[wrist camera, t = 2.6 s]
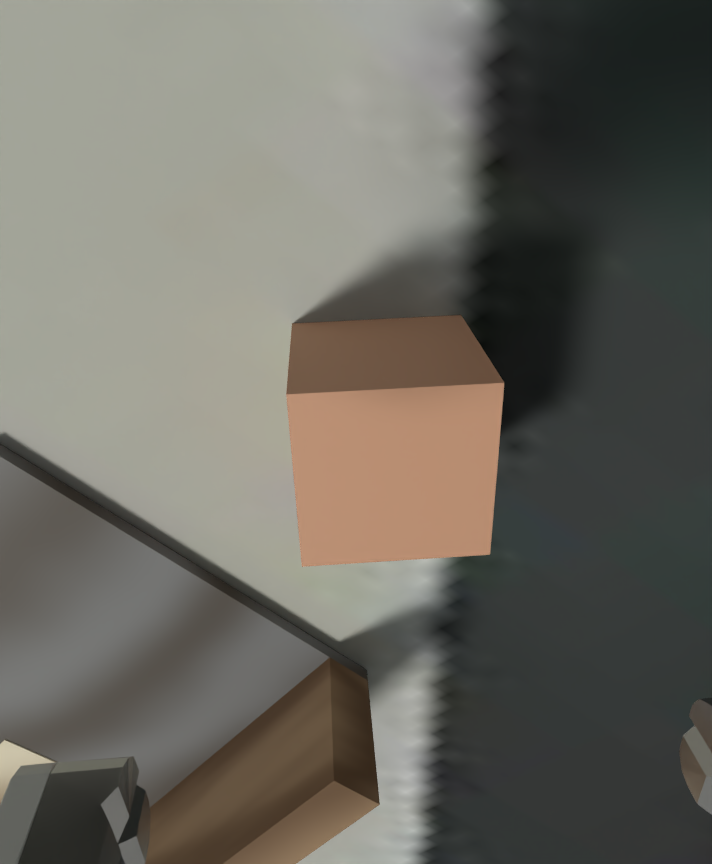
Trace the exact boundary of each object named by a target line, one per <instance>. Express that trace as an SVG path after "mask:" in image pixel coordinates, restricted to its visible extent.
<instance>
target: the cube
mask: <svg viewBox="0 0 712 864" xmlns="http://www.w3.org/2000/svg"><path fill="white" fill-rule="evenodd" d="M503 394H504V381H503V380H502V378H501V377H500V375H499V374H498V372H497V370H496V369H495V367H494V366H493V364H492V363H491V361H490V359H489V358H488V356H487V355H486V353H485V352H484V350H483V349H482V347H481V345H480V344H479V342H478V341H477V339H476V338H475V336H474V334H473V333H472V331H471V330H470V328H469V327H468V325H467V324H466V322H465V320H464V319H463V317H462V316H461V315H451V316H432V317H412V318H392V319H372V320H352V321H332V322H312V323H293V324H292V332H291V344H290V356H289V369H288V381H287V393H286V395H287V406H288V418H289V429H290V440H291V451H292V462H293V473H294V484H295V495H296V506H297V517H298V528H299V539H300V550H301V561H302V567H303V566H318V565H334V564H350V563H365V562H381V561H397V560H412V559H428V558H444V557H459V556H475V555H490V548H491V536H492V524H493V512H494V500H495V488H496V477H497V465H498V453H499V441H500V429H501V417H502V406H503Z"/></svg>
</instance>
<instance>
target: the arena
mask: <svg viewBox="0 0 712 864" xmlns="http://www.w3.org/2000/svg"><path fill="white" fill-rule="evenodd" d="M130 756H134V758H135V761H136V763H137V766H138V768H139V775H138V779H137V784H136V785H138V786H140V787H141V788H143V789H144V790H146V793H147V796H148V800H149V806H150V815H151V821H150V840H149V846H148V851H147V857H146V862H145V864H296V863H298V862H299V861H300V860H302V859H303V858H305V857H306V856H307V855H309V854H310V853H312V852H313V851H315V850H316V849H317V848H319V847H320V846H322V845H323V844H324V843H326V842H327V841H329V840H330V839H331V838H333V837H334V836H336V835H337V834H339V833H340V832H341V831H343V830H344V829H346V828H347V827H348V826H350V825H351V824H353V823H354V822H356V821H357V820H358V819H360V818H361V817H363V816H364V815H365V814H367V813H368V812H370V811H371V810H373V809H374V808H375V807H377V806H378V805H380V803H379V793H378V783H377V772H376V762H375V752H374V741H373V731H372V721H371V710H370V700H369V690H368V679H367V670H365V669H364V668H362V667H361V666H359V665H357V664H356V663H354V662H352V661H351V660H349V659H348V658H346V657H344V656H343V655H341V654H339V653H338V652H336V651H335V650H333V649H331V648H330V647H328V646H326V645H325V644H323V643H322V642H320V641H318V640H317V639H315V638H313V637H312V636H310V635H309V634H307V633H305V632H304V631H302V630H300V629H299V628H297V627H296V626H294V625H292V624H291V623H289V622H288V621H286V620H284V619H283V618H281V617H279V616H278V615H276V614H275V613H273V612H271V611H270V610H268V609H266V608H265V607H263V606H262V605H260V604H258V603H257V602H255V601H253V600H252V599H250V598H249V597H247V596H245V595H244V594H242V593H240V592H239V591H237V590H236V589H234V588H232V587H231V586H229V585H228V584H226V583H224V582H223V581H221V580H219V579H218V578H216V577H215V576H213V575H211V574H210V573H208V572H206V571H205V570H203V569H202V568H200V567H198V566H197V565H195V564H193V563H192V562H190V561H189V560H187V559H185V558H184V557H182V556H180V555H179V554H177V553H176V552H174V551H172V550H171V549H169V548H167V547H166V546H164V545H163V544H161V543H159V542H158V541H156V540H155V539H153V538H151V537H150V536H148V535H146V534H145V533H143V532H142V531H140V530H138V529H137V528H135V527H133V526H132V525H130V524H129V523H127V522H125V521H124V520H122V519H120V518H119V517H117V516H116V515H114V514H112V513H111V512H109V511H107V510H106V509H104V508H103V507H101V506H99V505H98V504H96V503H95V502H93V501H91V500H90V499H88V498H86V497H85V496H83V495H82V494H80V493H78V492H77V491H75V490H73V489H72V488H70V487H69V486H67V485H65V484H64V483H62V482H60V481H59V480H57V479H56V478H54V477H52V476H51V475H49V474H47V473H46V472H44V471H43V470H41V469H39V468H38V467H36V466H34V465H33V464H31V463H30V462H28V461H26V460H25V459H23V458H22V457H20V456H18V455H17V454H15V453H13V452H12V451H10V450H9V449H7V448H5V447H4V446H2V445H0V804H1V801H2V799H3V796H4V794H5V791H6V789H7V787H8V784H9V782H10V779H11V778H12V777H13V775H14V774H15V773H16V771H17V770H18V769H19V768H20V766H24V765H34V764H44V763H54V762H70V761H82V760H94V759H106V758H118V757H130Z"/></svg>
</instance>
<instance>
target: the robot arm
mask: <svg viewBox="0 0 712 864" xmlns="http://www.w3.org/2000/svg"><path fill="white" fill-rule="evenodd" d="M689 716H690V718H691V720H692V721H693V723H694V725H695V726H694V727H693V728H691V729H690V730H689V731H688V732H687V733H686V734H684V735H683V738H682V742H681V746H680V750H679V753H680V760H681V767H682V772H683V774H684V777H685V780H686V783H687V785H688V787H689V789H690V791H691V793H692V795H693V797H694V799H695V800H696V802H697V804H698V805H700V806H701V807H702V808H704V809H705V810H706V811H708V812H709V813H710V814H712V698H704V699H699V700H698V701H696V702H695V703H694V704H693V705H692V708H691V711H690V714H689ZM138 775H139V768H138V766H137V763H136V761H135V758H134V756H130V757H118V758H106V759H94V760H82V761H70V762H54V763H44V764H34V765H24V766H20V768H19V769H18V770H17V771H16V773H15V774H14V775H13V777H12V778H11V779H10V782H9V784H8V787H7V789H6V791H5V794H4V796H3V799H2V801H1V804H0V864H145V862H146V857H147V851H148V846H149V840H150V821H151V815H150V806H149V800H148V796H147V793H146V790H144V789H143V788H141V787H140V786H138V785H136V784H137V779H138Z"/></svg>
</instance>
